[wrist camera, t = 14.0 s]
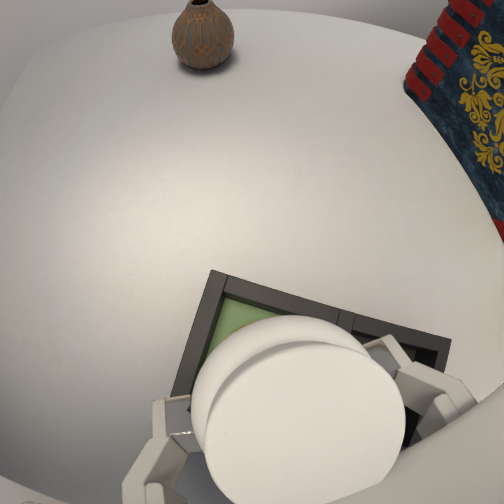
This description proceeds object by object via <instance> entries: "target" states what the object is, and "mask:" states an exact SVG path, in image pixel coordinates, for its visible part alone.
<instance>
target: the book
mask: <svg viewBox="0 0 504 504" xmlns="http://www.w3.org/2000/svg"><path fill="white" fill-rule="evenodd" d="M448 2H449V4H448V6H447V7H445V8H444V10H443V12H442V14H441V15H440V17H439V19H438V20H437V23H438V24H437V26H436V27H434V28H433V30H432V31H431V33H430V35H429V36H428V38H427V40H426V42H427V44H426V45H424V46H423V47H422V49H421V51H420V52H419V54H418V56H417V57H416V62H415V63H413V64H412V66H411V68H410V69H409V71H408V73H407V74H406V79H405V81H404V89H405V92H406V94H408V95H409V96H410V97H411V98H412V99H413V100H414V101H415V102H416V103H417V105H418V106H419V107H420V108H421V110H422V111H423V112H424V113H425V114H426V116H427V117H428V118H429V120H430V121H431V122H432V123H433V125H434V126H435V127H436V129H437V130H438V131H439V133H440V134H441V135H442V137H443V138H444V140H445V141H446V142H447V144H448V145H449V147H450V148H451V149H452V151H453V152H454V154H455V155H456V157H457V158H458V160H459V161H460V163H461V164H462V166H463V168H464V169H465V171H466V172H467V174H468V176H469V177H470V179H471V180H472V182H473V184H474V185H475V187H476V189H477V191H478V192H479V194H480V196H481V198H482V199H483V201H484V203H485V205H486V207H487V209H488V210H489V212H490V214H491V216H492V219H493V221H494V223H495V225H496V227H497V229H498V231H499V233H500V236H501V238H502V240H503V241H504V0H448Z"/></svg>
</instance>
